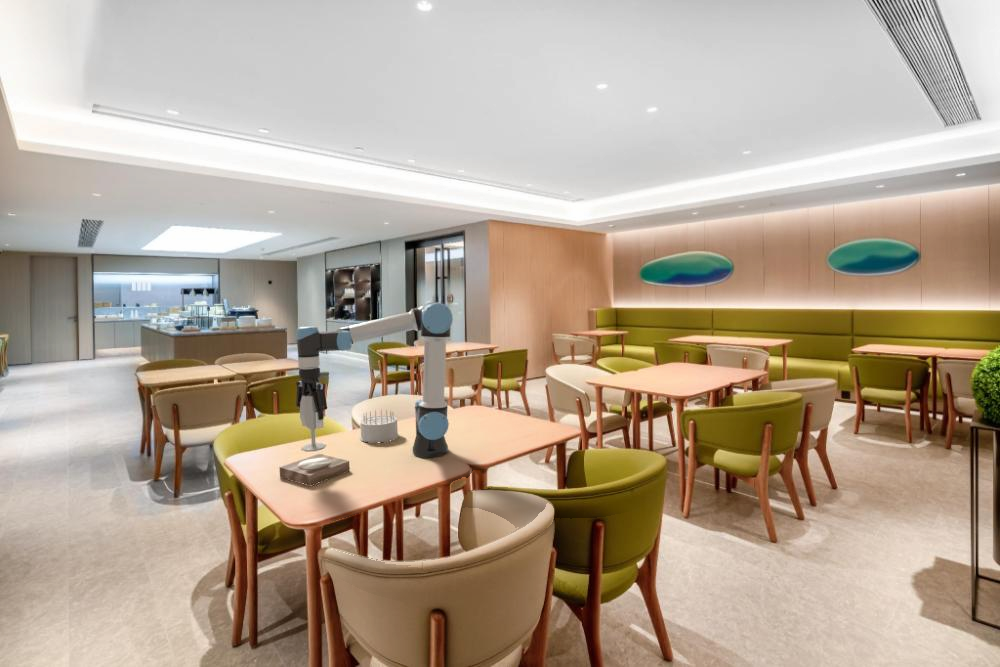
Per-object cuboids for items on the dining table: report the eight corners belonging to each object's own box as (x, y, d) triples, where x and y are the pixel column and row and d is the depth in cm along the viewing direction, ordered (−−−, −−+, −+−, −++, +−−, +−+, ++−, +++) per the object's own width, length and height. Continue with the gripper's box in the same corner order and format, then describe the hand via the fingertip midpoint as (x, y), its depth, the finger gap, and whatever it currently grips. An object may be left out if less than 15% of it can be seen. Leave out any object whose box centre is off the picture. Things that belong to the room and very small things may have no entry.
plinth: (349, 470, 197) (349, 459, 197) (310, 486, 182) (309, 474, 181) (319, 463, 207) (319, 452, 206) (280, 477, 192) (279, 466, 191)
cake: (374, 431, 253) (373, 405, 251) (405, 434, 247) (404, 407, 245) (352, 441, 236) (350, 413, 235) (385, 444, 230) (384, 416, 229)
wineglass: (330, 446, 196) (327, 393, 194) (315, 453, 188) (312, 397, 186) (312, 444, 199) (309, 391, 197) (296, 451, 191) (293, 396, 189)
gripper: (335, 367, 188) (338, 427, 190) (300, 364, 199) (303, 421, 201) (318, 370, 182) (322, 432, 184) (283, 367, 193) (287, 425, 195)
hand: (312, 426), depth 193 cm, fingers closed on wineglass, 8 cm apart
